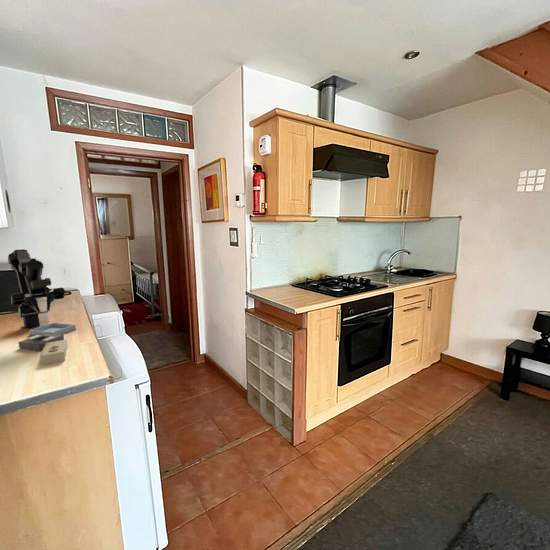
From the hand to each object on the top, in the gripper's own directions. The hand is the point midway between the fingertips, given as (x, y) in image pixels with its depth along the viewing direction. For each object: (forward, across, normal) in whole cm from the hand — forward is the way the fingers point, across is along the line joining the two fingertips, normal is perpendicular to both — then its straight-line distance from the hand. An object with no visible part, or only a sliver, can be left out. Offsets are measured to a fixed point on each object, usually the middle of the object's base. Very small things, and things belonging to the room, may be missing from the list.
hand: (44, 311), depth 130 cm
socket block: (+12, -2, +8) cm, 14 cm away
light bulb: (+4, 0, +6) cm, 7 cm away
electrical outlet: (+24, -2, -3) cm, 24 cm away
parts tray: (0, +5, +20) cm, 20 cm away
